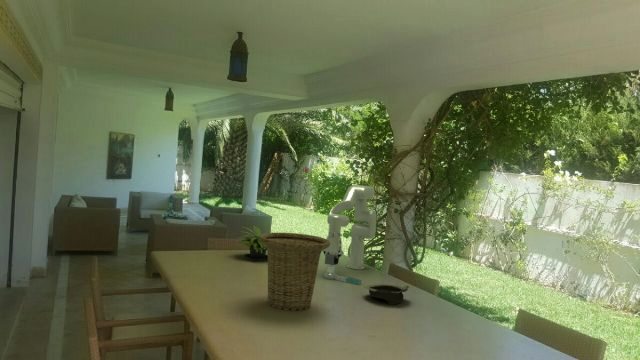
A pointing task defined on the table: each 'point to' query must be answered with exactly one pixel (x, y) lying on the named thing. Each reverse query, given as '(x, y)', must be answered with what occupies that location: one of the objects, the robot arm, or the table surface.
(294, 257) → the wicker basket
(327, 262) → the brushed grey cube
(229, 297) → the table surface
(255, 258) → the fern plant
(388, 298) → the stone bowl
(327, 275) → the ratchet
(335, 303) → the table surface
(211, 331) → the table surface
